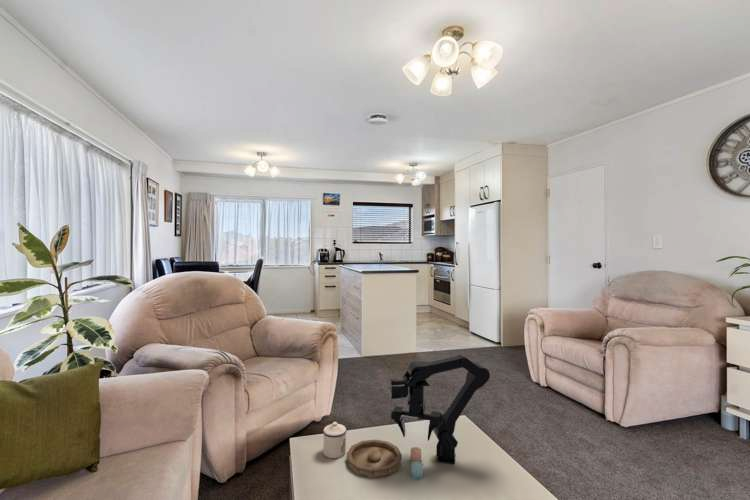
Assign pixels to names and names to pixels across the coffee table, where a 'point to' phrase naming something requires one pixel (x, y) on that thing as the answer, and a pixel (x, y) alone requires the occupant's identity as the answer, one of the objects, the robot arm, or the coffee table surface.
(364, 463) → the ring tray
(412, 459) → the bead terracotta
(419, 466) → the bead teal
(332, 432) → the teacup with lid
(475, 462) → the coffee table surface
